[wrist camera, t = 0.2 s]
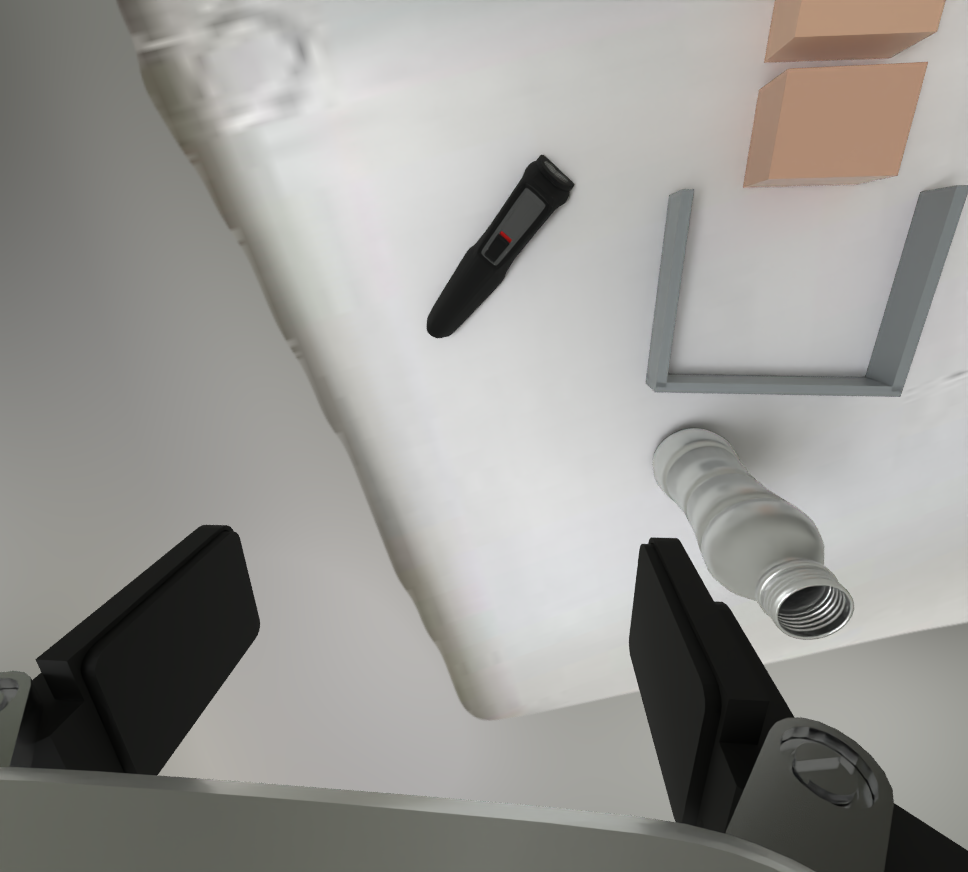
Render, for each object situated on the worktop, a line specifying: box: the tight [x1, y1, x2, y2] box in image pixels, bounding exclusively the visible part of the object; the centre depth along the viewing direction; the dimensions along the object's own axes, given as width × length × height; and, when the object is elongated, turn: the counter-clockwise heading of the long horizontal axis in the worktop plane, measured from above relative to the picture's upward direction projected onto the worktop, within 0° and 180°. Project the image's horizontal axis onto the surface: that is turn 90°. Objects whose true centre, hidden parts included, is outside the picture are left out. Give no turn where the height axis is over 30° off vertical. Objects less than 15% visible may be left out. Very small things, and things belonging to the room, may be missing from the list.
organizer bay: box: [646, 185, 968, 397], centre depth 35 cm, size 14×18×3 cm
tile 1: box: [743, 62, 928, 188], centre depth 31 cm, size 6×8×4 cm
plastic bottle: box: [653, 428, 854, 640], centre depth 32 cm, size 6×7×20 cm
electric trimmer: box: [427, 155, 574, 338], centre depth 36 cm, size 4×16×3 cm, turn 141°
